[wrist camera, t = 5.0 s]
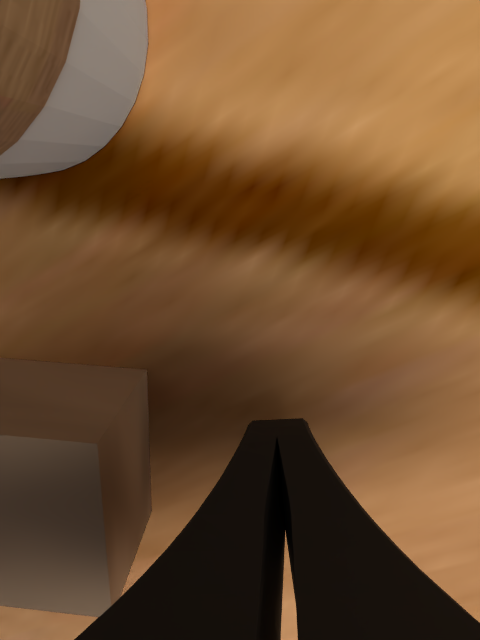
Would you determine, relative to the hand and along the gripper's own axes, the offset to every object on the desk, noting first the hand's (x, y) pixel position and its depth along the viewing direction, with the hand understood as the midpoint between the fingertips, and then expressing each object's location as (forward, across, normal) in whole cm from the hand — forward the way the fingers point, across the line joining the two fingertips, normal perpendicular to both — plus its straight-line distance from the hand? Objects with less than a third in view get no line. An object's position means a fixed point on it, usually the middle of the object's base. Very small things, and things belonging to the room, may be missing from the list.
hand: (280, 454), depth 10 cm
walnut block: (+2, +8, 0) cm, 8 cm away
